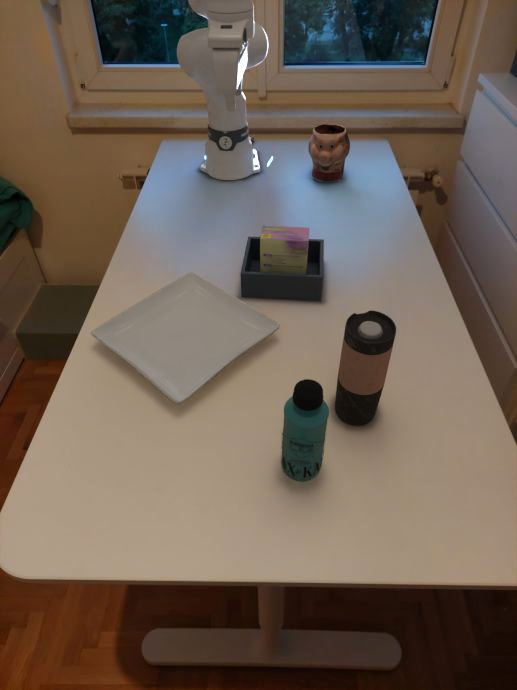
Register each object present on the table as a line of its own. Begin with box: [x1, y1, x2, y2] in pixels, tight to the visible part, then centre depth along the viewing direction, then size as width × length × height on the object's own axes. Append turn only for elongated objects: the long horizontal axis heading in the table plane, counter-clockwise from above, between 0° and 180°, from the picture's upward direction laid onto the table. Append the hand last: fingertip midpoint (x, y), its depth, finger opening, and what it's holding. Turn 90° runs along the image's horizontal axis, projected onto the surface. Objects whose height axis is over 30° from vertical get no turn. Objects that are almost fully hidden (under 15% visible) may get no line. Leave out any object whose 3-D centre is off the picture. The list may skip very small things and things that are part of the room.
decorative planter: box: [307, 123, 351, 183], centre depth 149 cm, size 20×12×14 cm, turn 173°
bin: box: [240, 236, 325, 303], centre depth 114 cm, size 15×18×7 cm
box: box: [260, 225, 310, 274], centre depth 112 cm, size 10×6×12 cm, turn 84°
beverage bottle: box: [279, 378, 330, 483], centre depth 73 cm, size 6×7×20 cm
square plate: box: [90, 272, 281, 405], centre depth 100 cm, size 27×27×4 cm
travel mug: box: [334, 309, 397, 427], centre depth 81 cm, size 8×8×20 cm
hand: (234, 102), depth 106 cm, fingers open, 8 cm apart
